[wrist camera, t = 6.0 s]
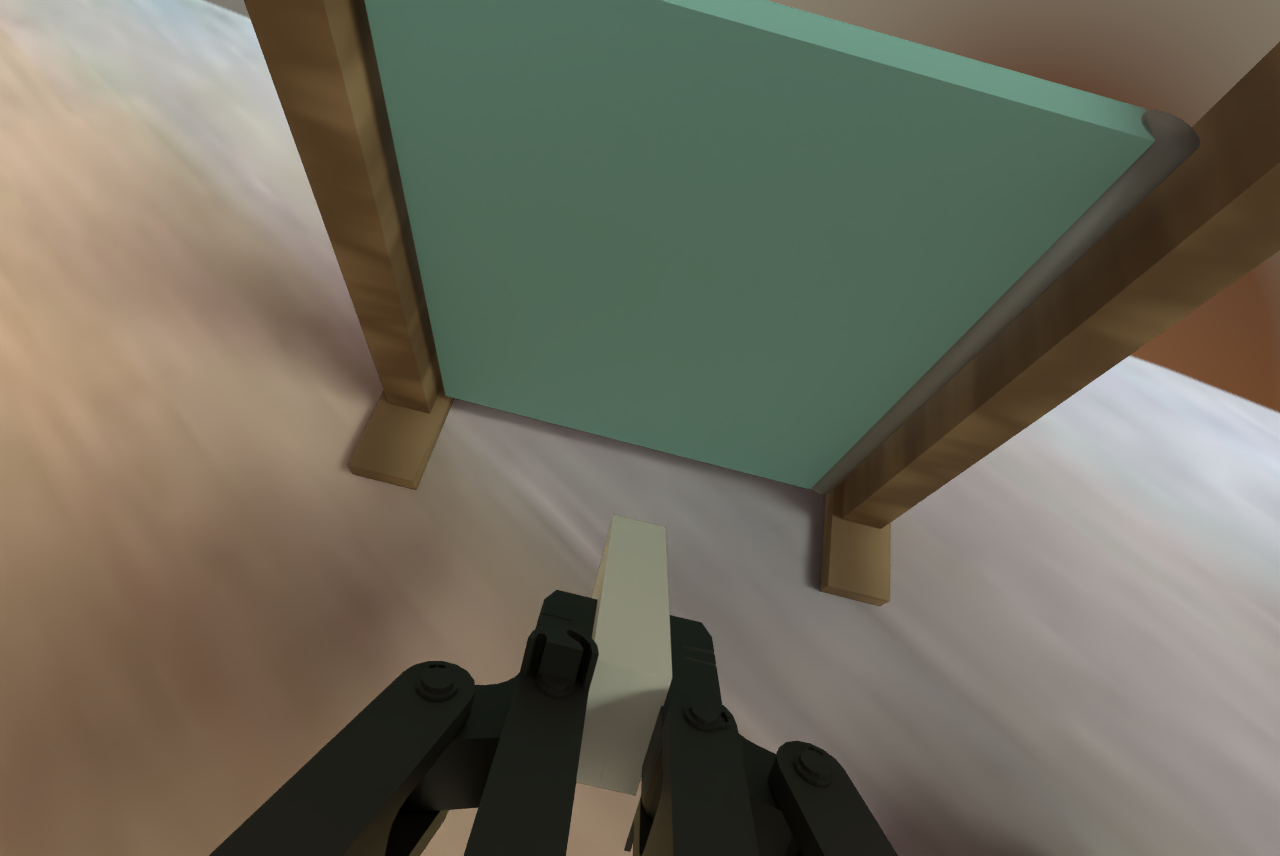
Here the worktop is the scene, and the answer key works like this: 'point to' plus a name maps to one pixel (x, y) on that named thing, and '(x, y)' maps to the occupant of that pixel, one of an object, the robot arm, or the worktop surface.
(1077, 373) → the gate frame
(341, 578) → the worktop surface
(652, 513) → the worktop surface
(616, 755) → the robot arm
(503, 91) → the door
